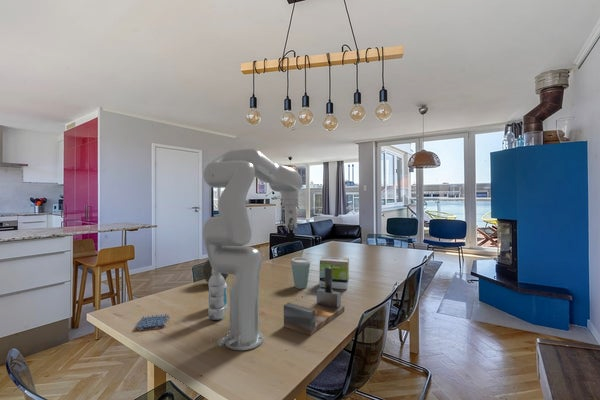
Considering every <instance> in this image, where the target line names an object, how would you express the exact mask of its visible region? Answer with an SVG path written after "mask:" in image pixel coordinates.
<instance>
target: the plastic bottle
mask: <svg viewBox="0 0 600 400" xmlns="http://www.w3.org/2000/svg"><path fill="white" fill-rule="evenodd" d="M207 283H208V294H209V293H210V303H209V302H208V310H207V314H208V319H210V320H212V321H219V320H222V319H223V318H224V317H225V314H226V309H225V307H224V286H225V283H226V280H225V279H224V278H223V276H222V275H221V273H219V272H216V271H215V270H213V268H212V276H211V277H210V279H209V282H207Z"/></svg>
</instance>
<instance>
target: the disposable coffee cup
mask: <svg viewBox="0 0 600 400" xmlns="http://www.w3.org/2000/svg"><path fill="white" fill-rule="evenodd" d="M290 265H291V270H292V271H291V272H292V277H293V283H294V284H293V285H294V286H295V287H294V288H295V289H306V288H307V287H308V283H309V274H310V266H311V261H310V260H309V259H308V258H305V257H293V258H291V261H290Z"/></svg>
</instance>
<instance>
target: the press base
mask: <svg viewBox="0 0 600 400" xmlns="http://www.w3.org/2000/svg"><path fill="white" fill-rule="evenodd" d="M344 312H345V306H344V305H341V306H340V307H338V308H334V307H330V306H326V305H322V304H318V303H317V302H315V303H313V304H311V305H310V306H308V307H306V306H303V305H299V304H295V303H291V302H287V303H284V304H283V327H285V328H287V329H291V330H294V331H296V332H299V333H303V334H306V335H308V336H312V335H313V334H315V333H316V332H318V331H319V330H321V329H322V328H323V327H325V326H326V325H327V324H328V323H330V322H332V321H333V320H334V319H336V318H337V317H338V316H339V315H341V314H342V313H344Z"/></svg>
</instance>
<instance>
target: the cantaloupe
mask: <svg viewBox="0 0 600 400" xmlns="http://www.w3.org/2000/svg"><path fill="white" fill-rule="evenodd" d="M202 274H203V275H202V276H203V278H204V280H205V281H206V282H207V283H208V282H209V279H210V277H211V276H212V267H211V265H210V262H209V259H207V260H206V262H204V265H203V268H202ZM221 275H222V276H223V277H224V279H225V281H226V280H227V278H228V276H229V274H225V273H221Z"/></svg>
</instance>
